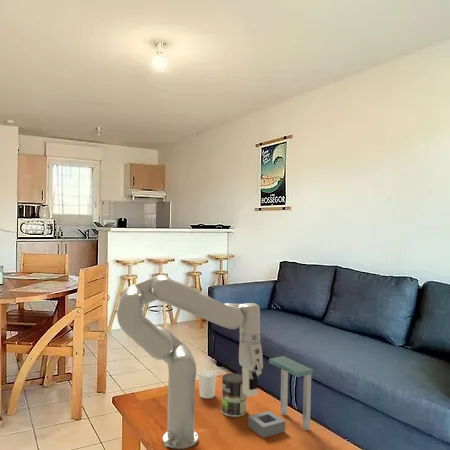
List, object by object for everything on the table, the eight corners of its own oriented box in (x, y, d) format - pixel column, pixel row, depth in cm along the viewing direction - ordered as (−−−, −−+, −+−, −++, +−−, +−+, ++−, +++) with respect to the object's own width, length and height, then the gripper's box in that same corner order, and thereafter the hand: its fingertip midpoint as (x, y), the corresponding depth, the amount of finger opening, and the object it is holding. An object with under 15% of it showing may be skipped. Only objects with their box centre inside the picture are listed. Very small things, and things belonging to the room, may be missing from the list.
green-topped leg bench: (296, 435, 159) (297, 372, 158) (267, 415, 174) (269, 358, 174) (311, 430, 162) (313, 369, 162) (282, 411, 178) (283, 356, 178)
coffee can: (228, 419, 171) (229, 383, 170) (217, 408, 180) (217, 375, 180) (251, 414, 175) (251, 379, 175) (238, 404, 184) (239, 371, 184)
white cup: (195, 393, 195) (196, 371, 195) (211, 391, 198) (212, 369, 198) (202, 400, 188) (202, 377, 188) (218, 397, 191) (219, 375, 191)
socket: (263, 438, 156) (263, 427, 156) (248, 426, 165) (248, 415, 165) (285, 431, 161) (285, 421, 161) (269, 420, 170) (269, 410, 170)
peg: (248, 396, 156) (248, 369, 156) (242, 393, 159) (242, 366, 159) (257, 394, 158) (257, 367, 158) (251, 390, 161) (251, 364, 161)
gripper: (271, 341, 153) (271, 392, 153) (246, 330, 168) (246, 377, 168) (253, 344, 149) (253, 397, 150) (229, 333, 164) (230, 381, 164)
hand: (250, 386), depth 159 cm, fingers closed on peg, 4 cm apart
